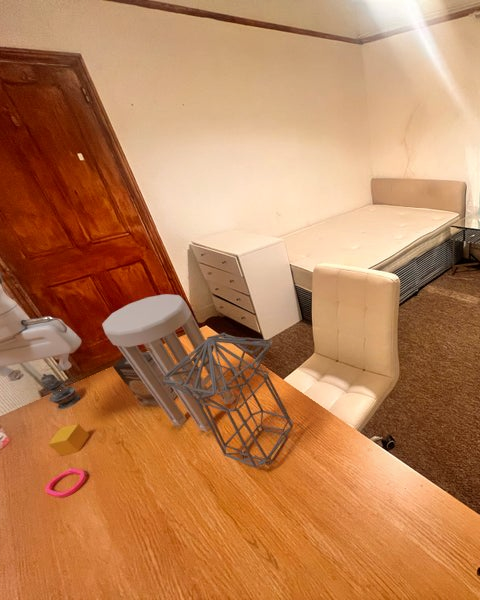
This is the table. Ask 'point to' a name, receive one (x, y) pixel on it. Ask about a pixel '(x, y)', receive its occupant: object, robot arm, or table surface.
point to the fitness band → (70, 491)
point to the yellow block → (69, 439)
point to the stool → (163, 351)
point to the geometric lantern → (203, 353)
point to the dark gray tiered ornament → (60, 392)
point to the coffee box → (139, 380)
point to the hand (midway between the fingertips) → (42, 373)
